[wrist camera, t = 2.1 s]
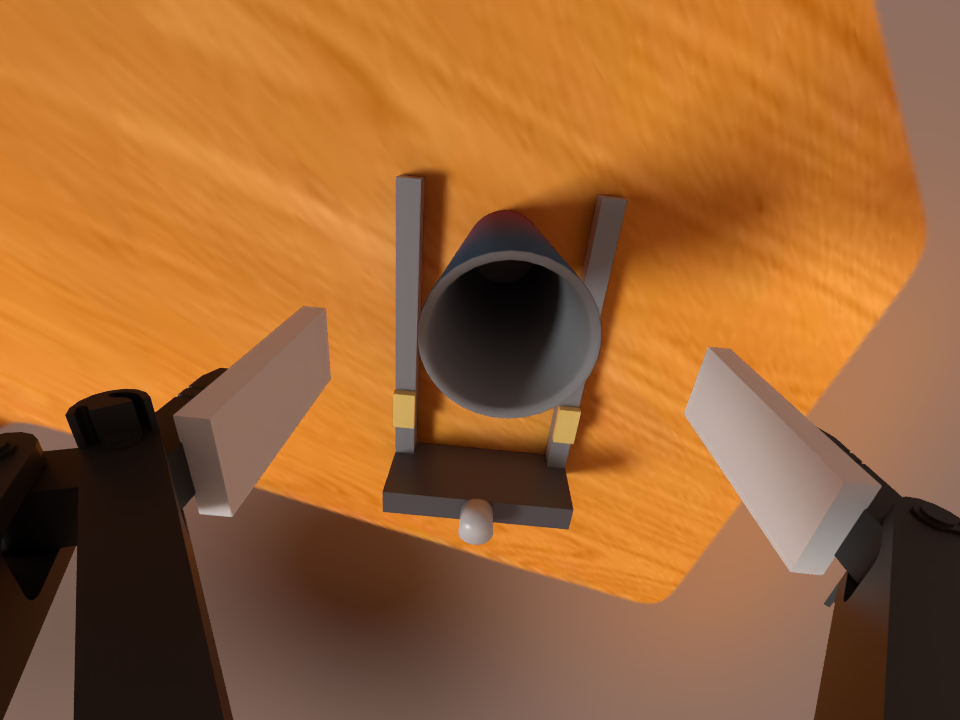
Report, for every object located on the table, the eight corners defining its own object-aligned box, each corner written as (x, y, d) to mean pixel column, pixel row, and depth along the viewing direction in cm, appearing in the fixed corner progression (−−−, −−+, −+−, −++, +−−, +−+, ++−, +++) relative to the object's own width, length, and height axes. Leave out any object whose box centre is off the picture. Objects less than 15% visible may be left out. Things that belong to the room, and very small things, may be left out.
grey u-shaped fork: (400, 174, 28) (366, 188, 20) (621, 197, 28) (664, 218, 21) (398, 461, 38) (375, 535, 31) (558, 476, 38) (572, 553, 31)
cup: (575, 233, 29) (642, 318, 16) (516, 314, 32) (530, 445, 18) (489, 173, 27) (480, 209, 14) (435, 263, 30) (385, 365, 17)
